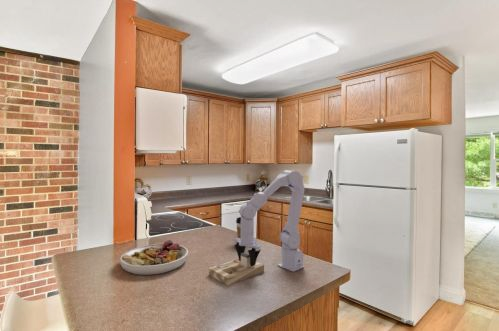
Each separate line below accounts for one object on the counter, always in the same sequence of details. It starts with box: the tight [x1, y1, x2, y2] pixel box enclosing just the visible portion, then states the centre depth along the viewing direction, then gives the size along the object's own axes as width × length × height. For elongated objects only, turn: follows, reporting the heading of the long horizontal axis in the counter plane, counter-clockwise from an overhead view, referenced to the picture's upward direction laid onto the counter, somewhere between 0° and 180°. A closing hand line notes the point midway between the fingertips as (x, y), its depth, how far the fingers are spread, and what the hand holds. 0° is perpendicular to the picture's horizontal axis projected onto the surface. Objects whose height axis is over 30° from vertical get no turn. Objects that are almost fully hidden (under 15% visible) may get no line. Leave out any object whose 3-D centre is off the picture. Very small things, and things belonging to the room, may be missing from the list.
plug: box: [241, 250, 252, 268], centre depth 121 cm, size 4×4×8 cm
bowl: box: [119, 239, 189, 276], centre depth 130 cm, size 30×30×8 cm
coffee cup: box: [235, 216, 241, 239], centre depth 161 cm, size 8×8×15 cm
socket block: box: [208, 258, 265, 286], centre depth 119 cm, size 13×20×3 cm, turn 132°
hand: (247, 262), depth 121 cm, fingers open, 7 cm apart
